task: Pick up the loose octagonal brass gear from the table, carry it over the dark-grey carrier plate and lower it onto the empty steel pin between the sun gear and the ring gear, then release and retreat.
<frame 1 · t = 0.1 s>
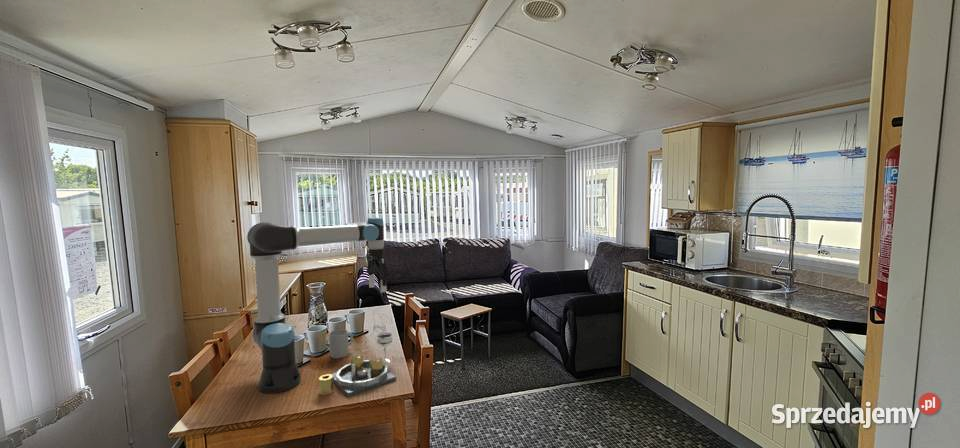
hand: (377, 289, 194), 28 cm above the table, fingers open, 13 cm apart
carrier: (362, 378, 158), on the table
wineglass: (385, 361, 175), on the table
gear: (326, 392, 147), on the table
mug: (342, 354, 183), on the table
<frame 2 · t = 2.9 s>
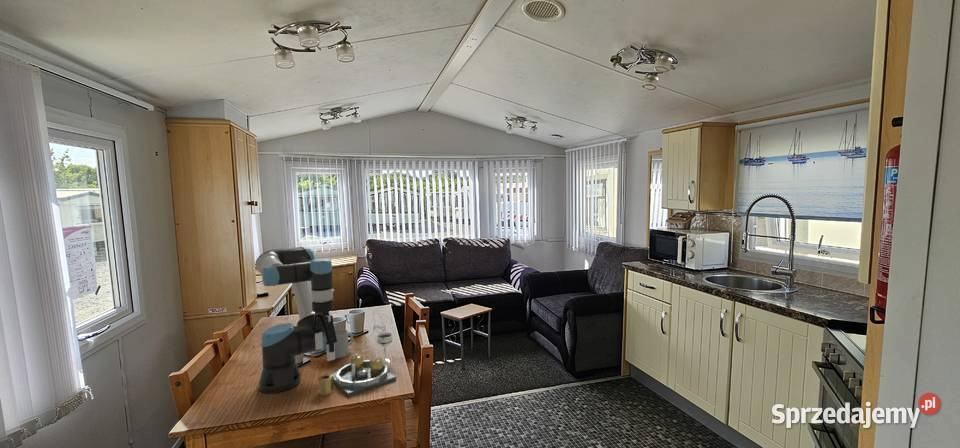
hand: (325, 354, 146), 15 cm above the table, fingers open, 13 cm apart
nothing on the table moved.
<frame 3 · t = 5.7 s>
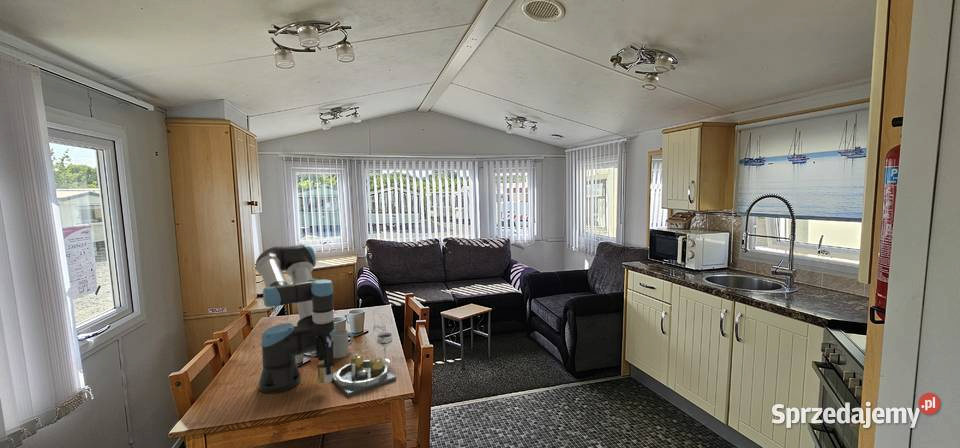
hand: (325, 378, 148), 5 cm above the table, fingers closed on gear, 5 cm apart
gear: (325, 379, 148), point 5 cm above the table, touching gripper
everything else where it was.
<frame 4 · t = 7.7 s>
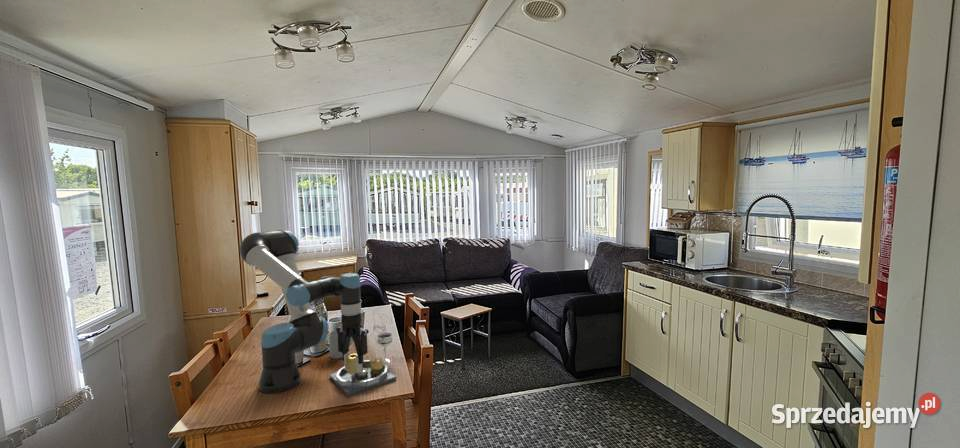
hand: (353, 370, 152), 6 cm above the table, fingers closed on gear, 5 cm apart
gear: (353, 370, 152), point 6 cm above the table, touching gripper
everything else where it was.
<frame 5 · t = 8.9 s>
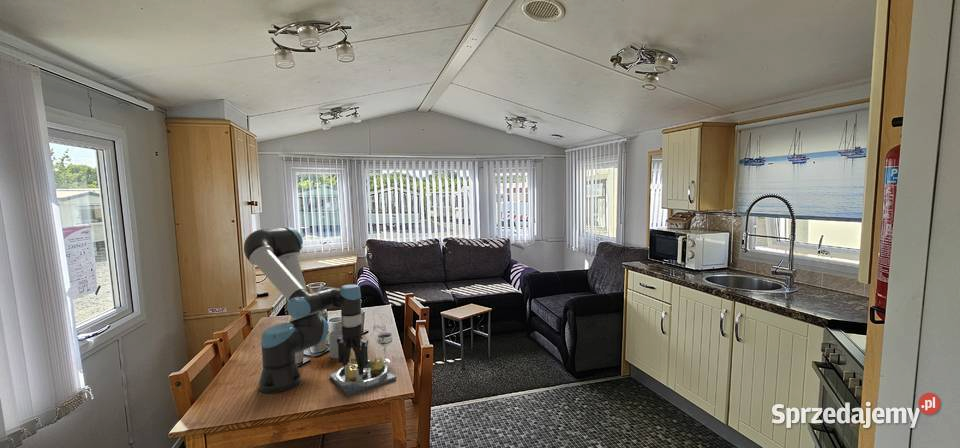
hand: (353, 380, 152), 2 cm above the table, fingers closed on carrier, gear, 5 cm apart
gear: (353, 381, 152), point 2 cm above the table, touching gripper
everything else where it was.
when the fingers open (3 cm above the table, at t = 10.0 s): gear stays where it is, resting on carrier.
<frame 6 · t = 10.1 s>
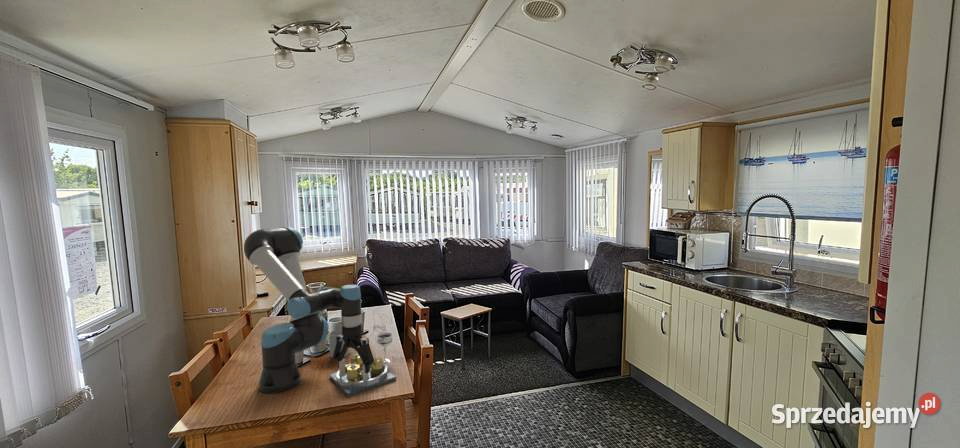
hand: (354, 378, 152), 3 cm above the table, fingers open, 11 cm apart
gear: (353, 381, 152), point 1 cm above the table, touching carrier
everything else where it was.
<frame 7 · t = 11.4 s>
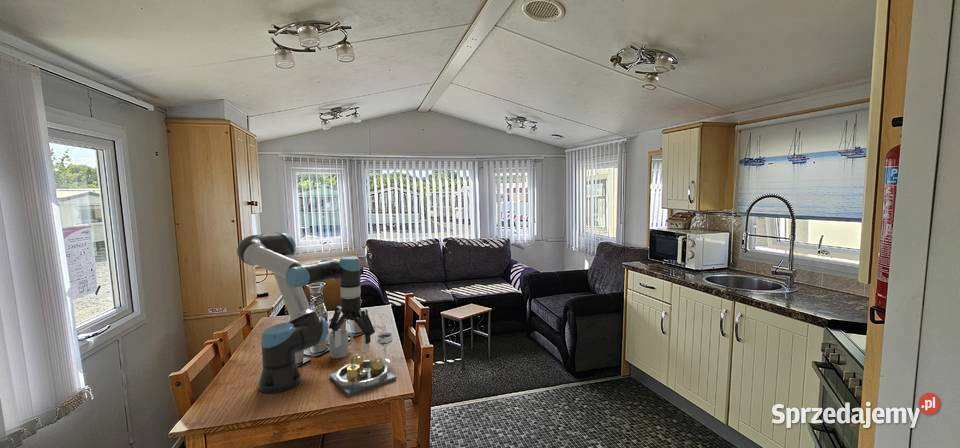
hand: (351, 348, 152), 15 cm above the table, fingers open, 13 cm apart
nothing on the table moved.
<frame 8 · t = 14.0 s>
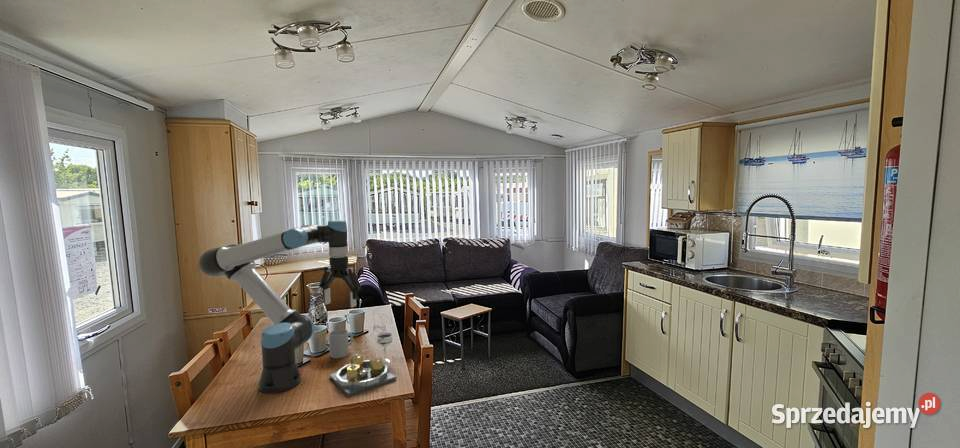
hand: (340, 305, 164), 29 cm above the table, fingers open, 13 cm apart
nothing on the table moved.
at the end: gear 0.1 cm from the target spot on the carrier, point 1.5 cm above the carrier's base; gear tilted 0°; the gripper is holding nothing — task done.
